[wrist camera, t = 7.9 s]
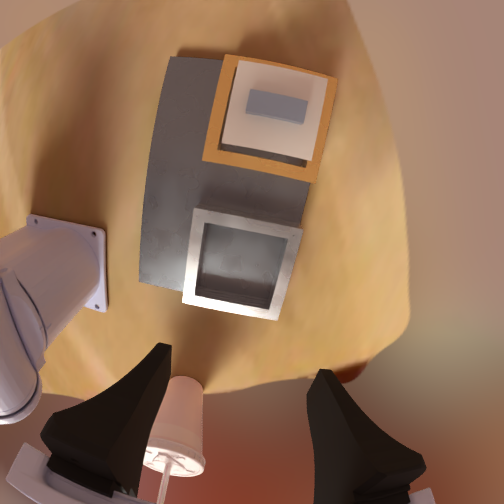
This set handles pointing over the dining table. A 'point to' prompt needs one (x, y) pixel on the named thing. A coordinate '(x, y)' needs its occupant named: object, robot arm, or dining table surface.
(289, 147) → the plug
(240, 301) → the panel
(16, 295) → the robot arm
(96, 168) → the dining table surface
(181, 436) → the smoothie
